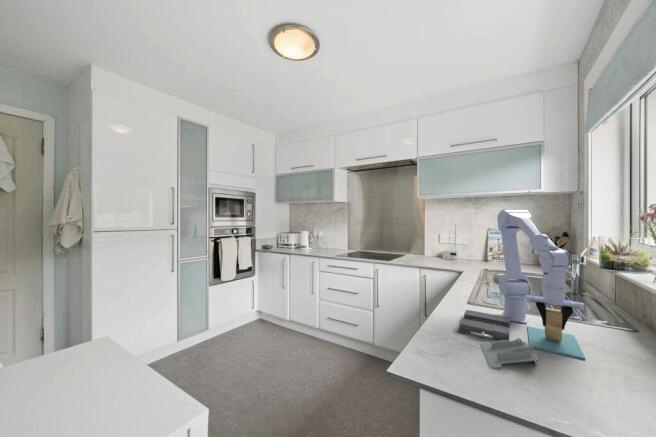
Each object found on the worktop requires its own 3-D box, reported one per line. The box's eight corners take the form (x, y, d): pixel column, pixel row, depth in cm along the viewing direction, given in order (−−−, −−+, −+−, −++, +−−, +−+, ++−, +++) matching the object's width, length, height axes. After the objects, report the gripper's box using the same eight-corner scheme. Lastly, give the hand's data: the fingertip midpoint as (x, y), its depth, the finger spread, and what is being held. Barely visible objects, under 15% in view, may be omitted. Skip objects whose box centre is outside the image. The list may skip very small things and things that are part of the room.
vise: (466, 315, 114) (466, 308, 114) (509, 323, 105) (509, 316, 105) (457, 334, 96) (457, 326, 96) (508, 346, 88) (508, 337, 87)
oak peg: (544, 333, 93) (545, 307, 93) (560, 336, 91) (560, 310, 91) (545, 338, 90) (546, 311, 89) (561, 341, 87) (562, 313, 87)
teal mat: (527, 327, 101) (527, 326, 101) (574, 336, 94) (574, 335, 94) (529, 347, 87) (529, 345, 87) (585, 360, 79) (585, 358, 79)
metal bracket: (523, 332, 85) (543, 356, 71) (529, 350, 85) (550, 378, 71) (474, 338, 90) (483, 361, 76) (479, 356, 89) (489, 383, 75)
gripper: (527, 285, 91) (526, 326, 91) (586, 292, 83) (585, 337, 83) (526, 281, 97) (525, 319, 97) (581, 287, 88) (580, 329, 89)
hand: (553, 327), depth 90 cm, fingers closed on oak peg, 4 cm apart
